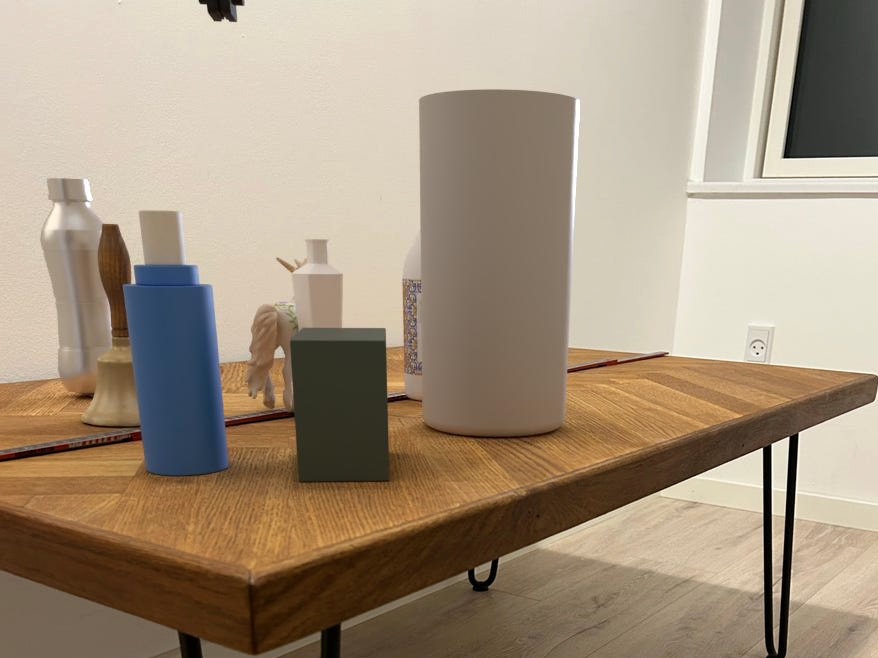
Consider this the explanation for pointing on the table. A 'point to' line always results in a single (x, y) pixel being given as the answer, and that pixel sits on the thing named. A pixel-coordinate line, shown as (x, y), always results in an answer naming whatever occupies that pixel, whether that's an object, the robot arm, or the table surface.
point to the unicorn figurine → (272, 347)
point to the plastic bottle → (76, 283)
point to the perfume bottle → (318, 289)
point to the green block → (340, 404)
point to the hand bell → (114, 340)
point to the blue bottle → (174, 355)
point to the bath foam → (412, 320)
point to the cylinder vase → (496, 258)
